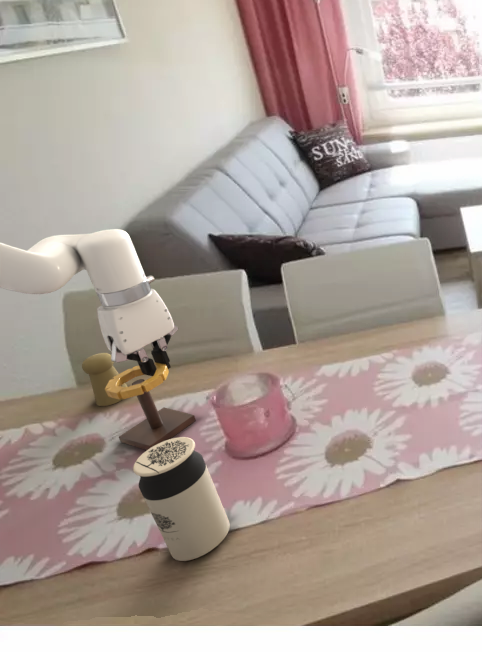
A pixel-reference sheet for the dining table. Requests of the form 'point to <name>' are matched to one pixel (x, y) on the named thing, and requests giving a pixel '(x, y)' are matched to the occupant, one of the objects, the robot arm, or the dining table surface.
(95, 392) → the cork
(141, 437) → the peg stand
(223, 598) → the dining table surface
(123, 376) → the brass ring
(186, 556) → the travel mug
